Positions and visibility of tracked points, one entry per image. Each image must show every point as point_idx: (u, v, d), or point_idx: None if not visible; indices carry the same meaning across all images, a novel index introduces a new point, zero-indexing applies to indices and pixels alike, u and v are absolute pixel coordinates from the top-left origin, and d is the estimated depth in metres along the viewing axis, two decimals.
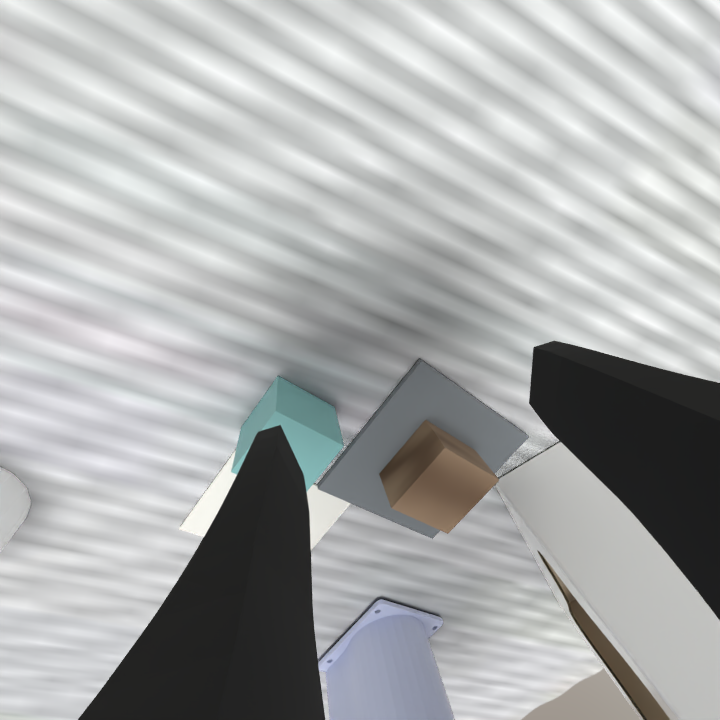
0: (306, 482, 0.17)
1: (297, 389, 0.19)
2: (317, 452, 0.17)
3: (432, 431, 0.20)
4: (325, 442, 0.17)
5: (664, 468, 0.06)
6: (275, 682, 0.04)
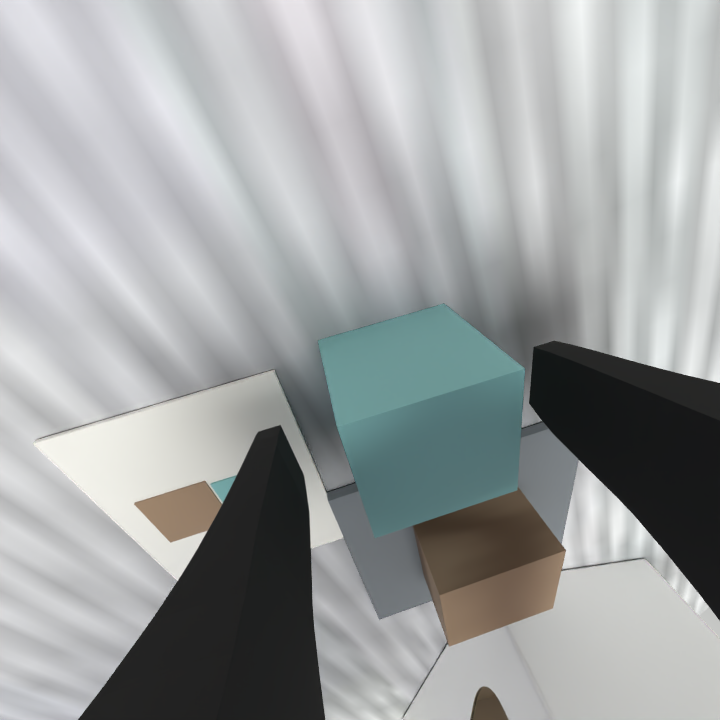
0: (414, 515, 0.08)
1: None
2: (481, 478, 0.08)
3: (533, 510, 0.14)
4: (507, 471, 0.08)
5: (664, 468, 0.06)
6: (275, 682, 0.04)
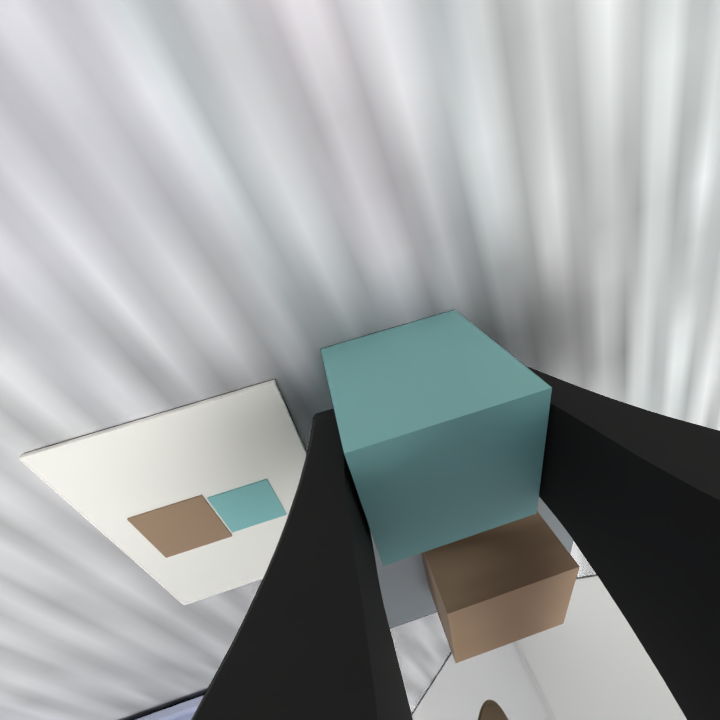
0: (426, 542, 0.08)
1: None
2: (499, 503, 0.08)
3: (544, 523, 0.13)
4: (526, 495, 0.08)
5: (590, 493, 0.06)
6: (381, 644, 0.05)
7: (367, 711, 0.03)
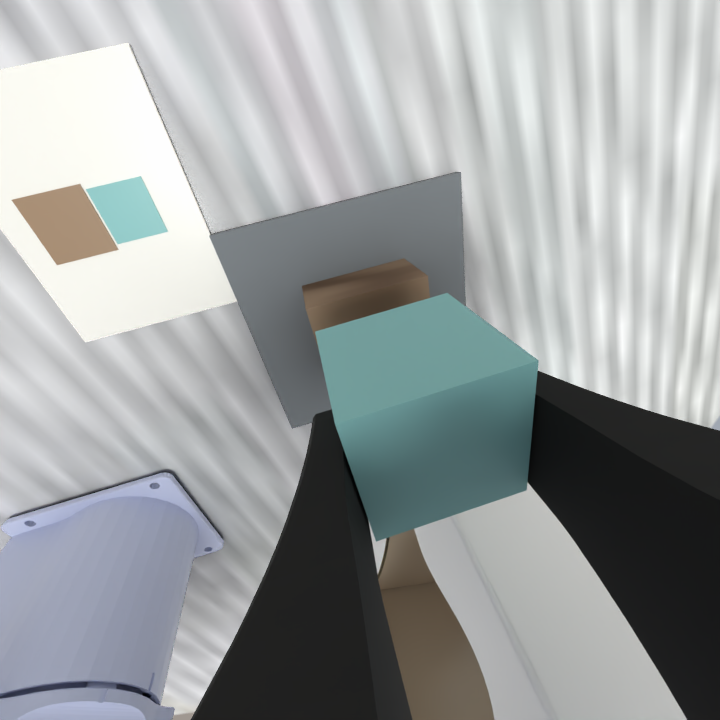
0: (418, 517, 0.08)
1: None
2: (489, 479, 0.08)
3: (411, 265, 0.15)
4: (516, 471, 0.08)
5: (591, 493, 0.06)
6: (381, 644, 0.05)
7: (367, 711, 0.03)
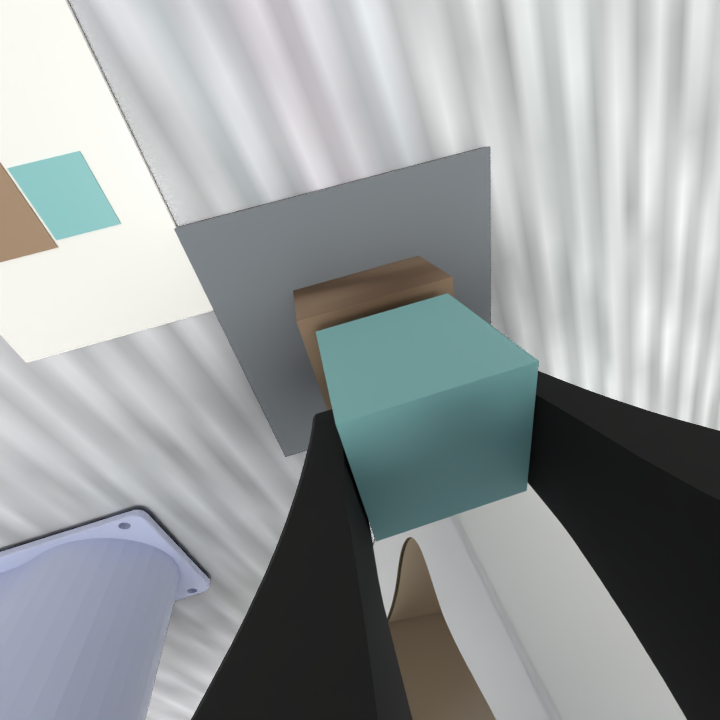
0: (418, 517, 0.08)
1: None
2: (490, 479, 0.08)
3: (429, 264, 0.12)
4: (516, 471, 0.08)
5: (590, 493, 0.06)
6: (381, 644, 0.05)
7: (367, 712, 0.03)
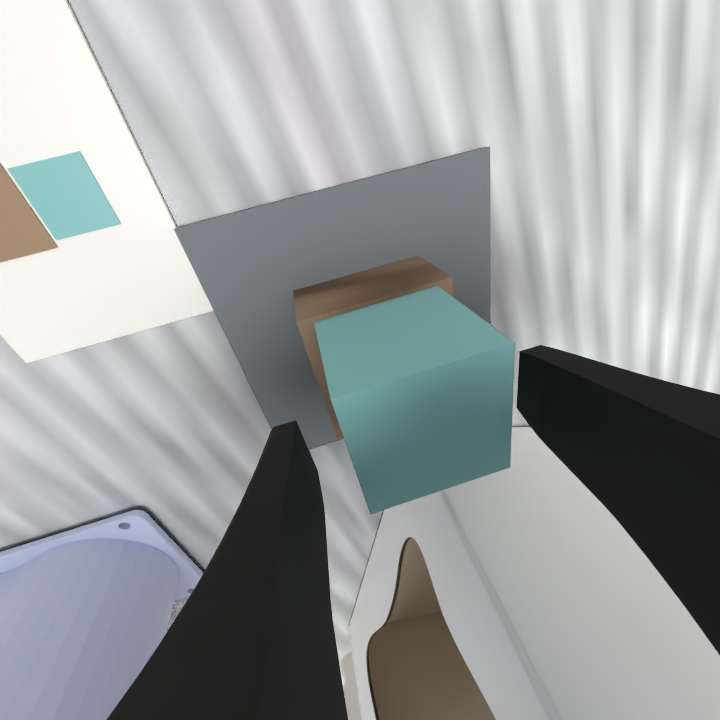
0: (409, 492, 0.09)
1: None
2: (474, 455, 0.08)
3: (428, 264, 0.12)
4: (499, 448, 0.09)
5: (645, 474, 0.06)
6: (303, 672, 0.05)
7: None
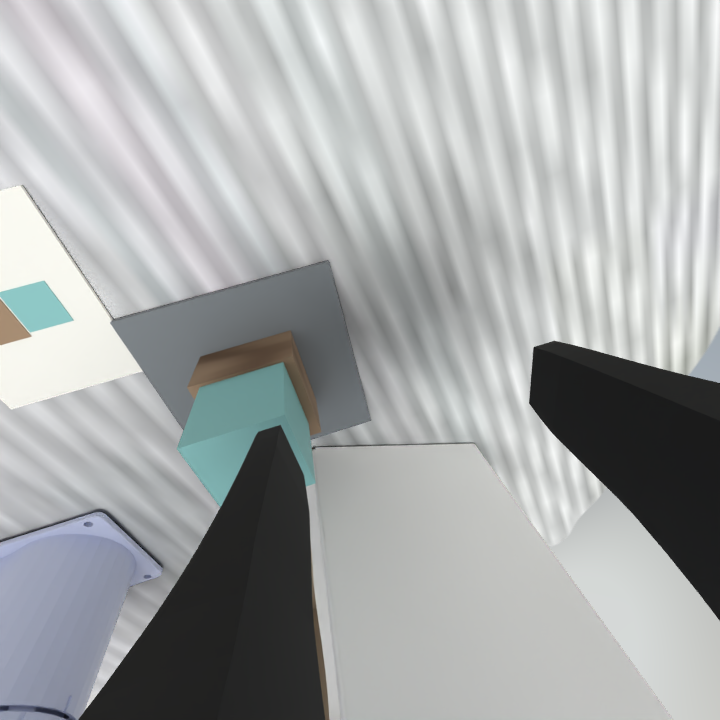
0: None
1: (292, 389, 0.16)
2: None
3: (290, 340, 0.17)
4: None
5: (664, 468, 0.06)
6: (275, 682, 0.04)
7: None
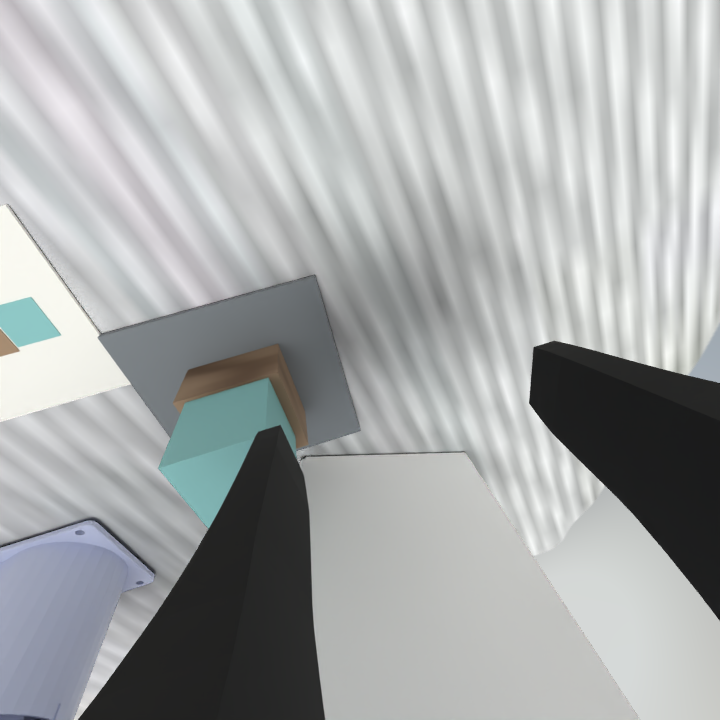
0: None
1: (277, 404, 0.16)
2: None
3: (276, 355, 0.17)
4: None
5: (664, 468, 0.06)
6: (275, 682, 0.04)
7: None
